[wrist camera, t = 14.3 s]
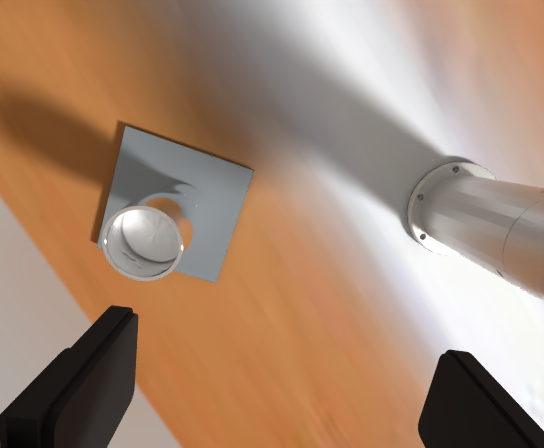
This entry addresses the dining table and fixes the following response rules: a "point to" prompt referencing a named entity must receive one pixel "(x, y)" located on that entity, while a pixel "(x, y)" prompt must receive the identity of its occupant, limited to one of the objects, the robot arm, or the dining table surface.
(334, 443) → the dining table surface
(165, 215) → the beer glass
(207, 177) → the grey mat
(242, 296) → the dining table surface
